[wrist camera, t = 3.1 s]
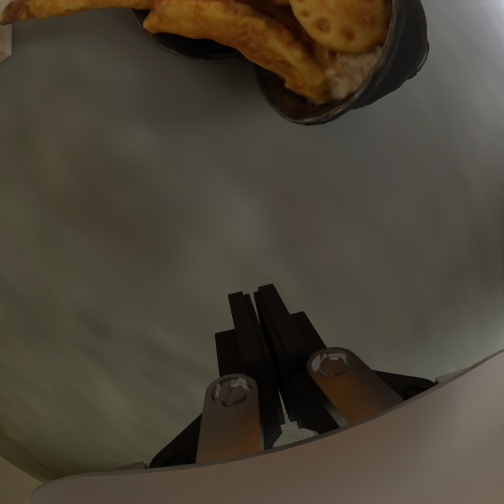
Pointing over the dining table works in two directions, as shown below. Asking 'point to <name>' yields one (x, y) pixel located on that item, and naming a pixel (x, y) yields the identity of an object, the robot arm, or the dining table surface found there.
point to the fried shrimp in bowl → (282, 44)
